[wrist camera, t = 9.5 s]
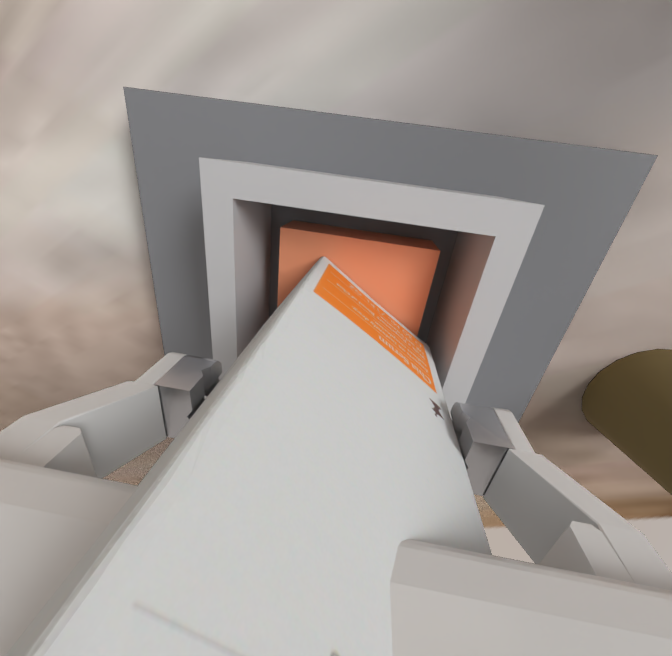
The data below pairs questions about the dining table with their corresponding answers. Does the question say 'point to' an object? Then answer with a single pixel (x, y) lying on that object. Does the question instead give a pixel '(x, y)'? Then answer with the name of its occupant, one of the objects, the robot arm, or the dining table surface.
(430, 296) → the switch box
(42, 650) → the skincare box
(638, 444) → the cork
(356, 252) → the button
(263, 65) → the dining table surface
